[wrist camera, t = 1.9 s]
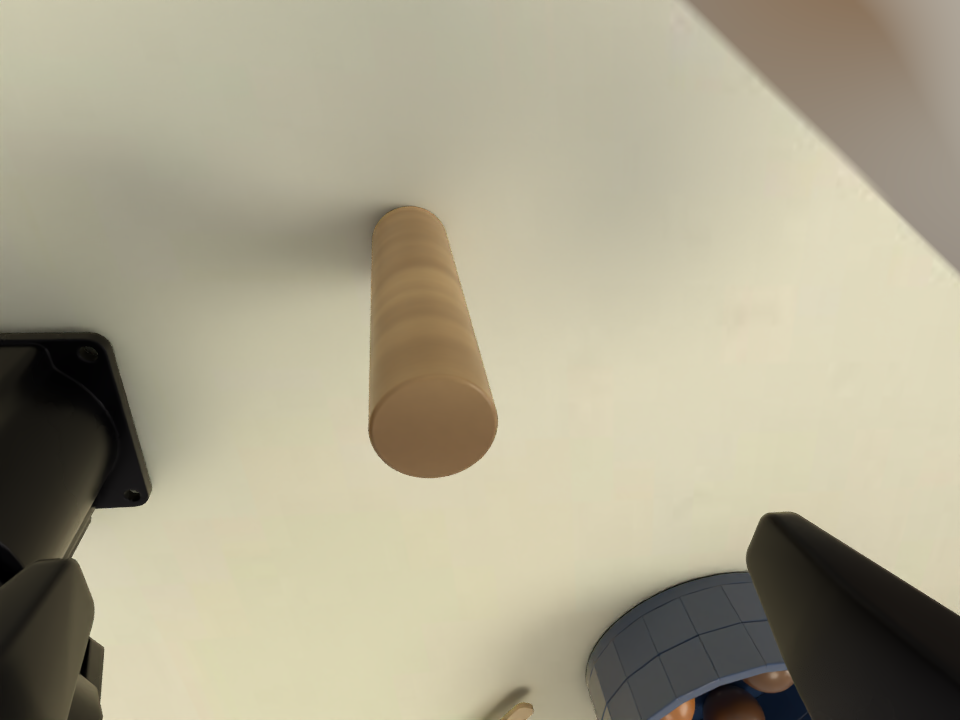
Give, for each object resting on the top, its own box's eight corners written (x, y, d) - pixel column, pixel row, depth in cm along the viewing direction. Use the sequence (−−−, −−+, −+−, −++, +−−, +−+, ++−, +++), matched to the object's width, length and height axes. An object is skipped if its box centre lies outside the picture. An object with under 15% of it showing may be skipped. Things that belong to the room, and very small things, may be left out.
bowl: (607, 582, 27) (644, 678, 24) (850, 562, 29) (921, 648, 26) (570, 730, 34) (594, 824, 30) (772, 706, 36) (819, 792, 32)
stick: (370, 204, 17) (366, 377, 10) (448, 206, 18) (504, 374, 10) (372, 277, 18) (370, 483, 11) (446, 277, 19) (493, 477, 11)
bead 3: (727, 611, 29) (761, 671, 26) (785, 605, 29) (824, 664, 27) (711, 649, 30) (741, 710, 28) (766, 644, 31) (801, 703, 28)
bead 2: (700, 675, 32) (728, 736, 29) (754, 670, 32) (786, 729, 30) (686, 708, 33) (712, 768, 31) (737, 702, 34) (767, 761, 31)
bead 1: (627, 653, 30) (650, 716, 27) (685, 647, 30) (713, 708, 27) (616, 689, 31) (637, 751, 29) (671, 683, 32) (697, 744, 29)
